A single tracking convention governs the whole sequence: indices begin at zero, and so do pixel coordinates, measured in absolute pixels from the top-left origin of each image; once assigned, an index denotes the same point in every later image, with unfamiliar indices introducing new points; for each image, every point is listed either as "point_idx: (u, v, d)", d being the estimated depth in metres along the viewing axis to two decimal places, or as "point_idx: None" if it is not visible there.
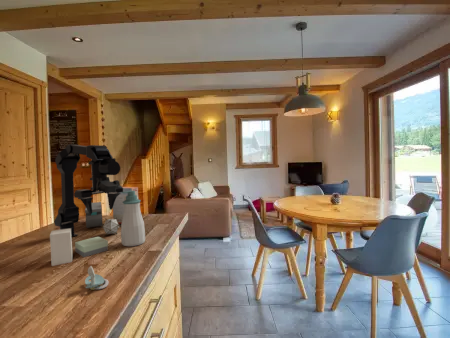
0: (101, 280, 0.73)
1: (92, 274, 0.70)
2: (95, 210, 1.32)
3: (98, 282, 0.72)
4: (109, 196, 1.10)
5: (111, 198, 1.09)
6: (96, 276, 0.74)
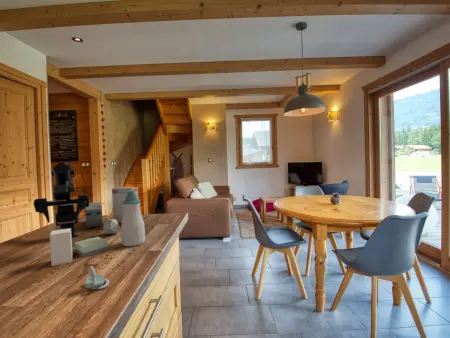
0: (102, 280, 0.73)
1: (93, 274, 0.70)
2: (95, 210, 1.32)
3: (99, 282, 0.72)
4: None
5: None
6: (97, 276, 0.74)
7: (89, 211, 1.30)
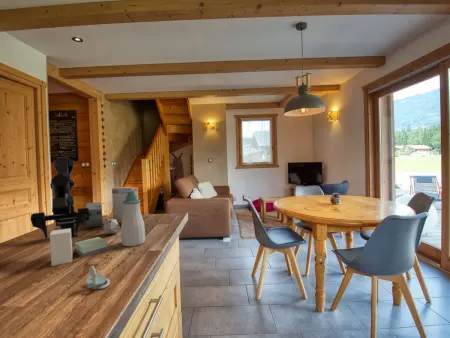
0: (102, 280, 0.73)
1: (94, 274, 0.70)
2: (95, 210, 1.32)
3: (99, 282, 0.72)
4: None
5: None
6: (97, 276, 0.74)
7: (89, 211, 1.30)
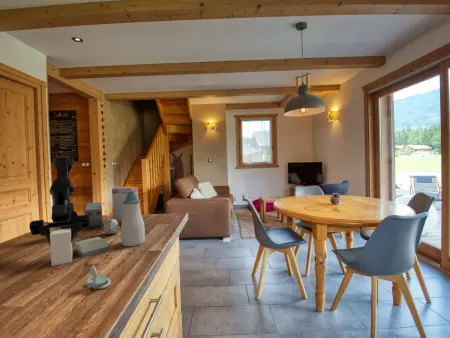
0: (103, 279, 0.73)
1: (94, 273, 0.70)
2: (95, 210, 1.32)
3: (100, 281, 0.72)
4: None
5: (72, 230, 0.93)
6: (98, 275, 0.74)
7: (89, 211, 1.30)
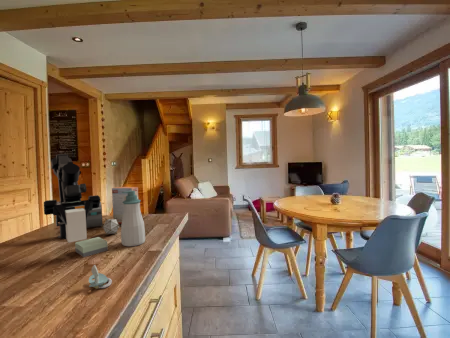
0: (104, 279, 0.73)
1: (96, 273, 0.70)
2: (95, 210, 1.32)
3: (101, 281, 0.72)
4: None
5: None
6: (99, 275, 0.75)
7: (89, 211, 1.30)
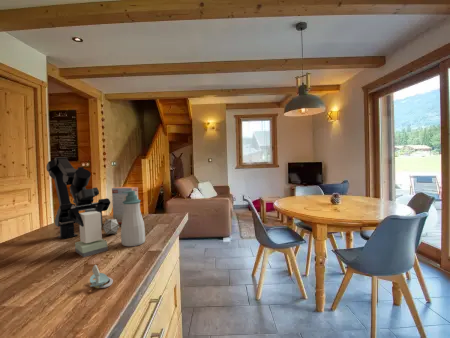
0: (105, 279, 0.73)
1: (97, 273, 0.70)
2: None
3: (102, 281, 0.73)
4: None
5: None
6: (100, 275, 0.75)
7: (89, 211, 1.30)
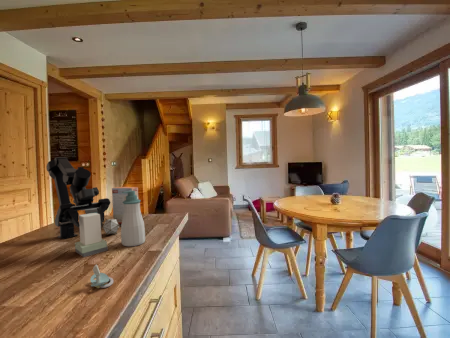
0: (106, 278, 0.73)
1: (97, 272, 0.71)
2: (95, 210, 1.32)
3: (103, 280, 0.73)
4: (99, 212, 1.06)
5: (100, 211, 1.04)
6: (101, 274, 0.75)
7: (89, 211, 1.30)
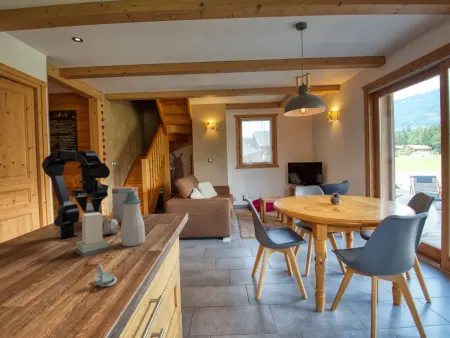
0: (110, 277, 0.74)
1: (101, 271, 0.71)
2: None
3: (107, 279, 0.73)
4: (80, 199, 1.14)
5: (84, 200, 1.16)
6: (105, 273, 0.76)
7: (89, 211, 1.30)
